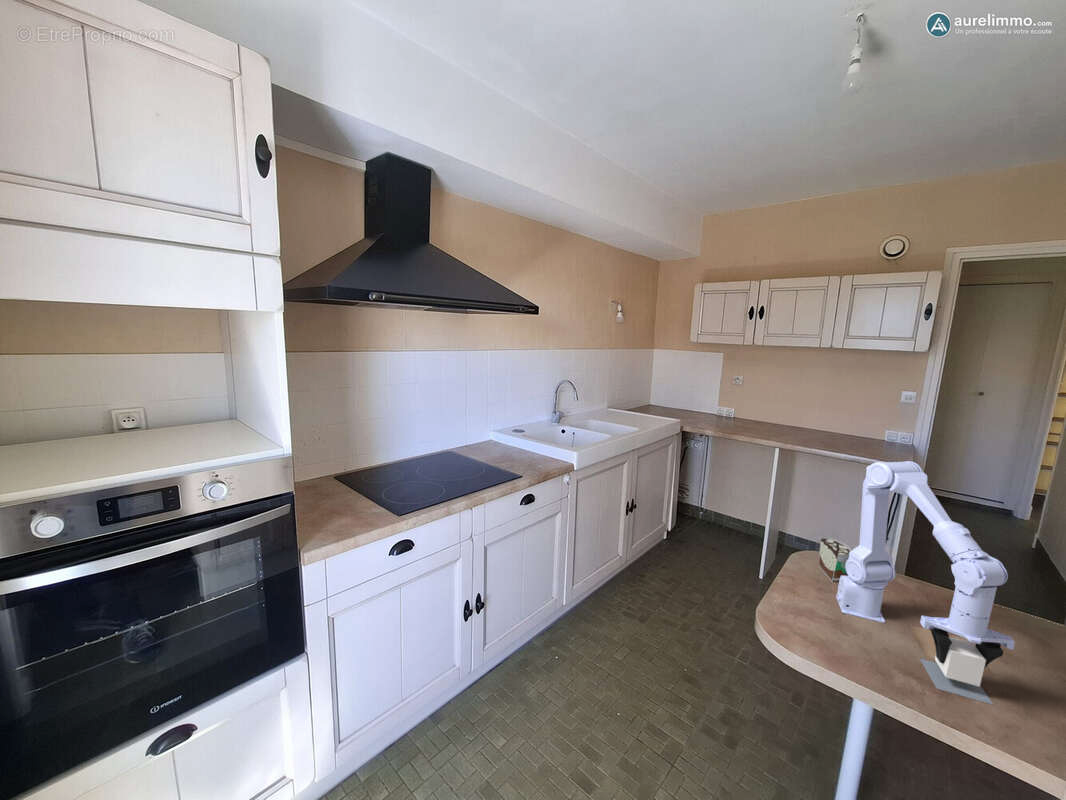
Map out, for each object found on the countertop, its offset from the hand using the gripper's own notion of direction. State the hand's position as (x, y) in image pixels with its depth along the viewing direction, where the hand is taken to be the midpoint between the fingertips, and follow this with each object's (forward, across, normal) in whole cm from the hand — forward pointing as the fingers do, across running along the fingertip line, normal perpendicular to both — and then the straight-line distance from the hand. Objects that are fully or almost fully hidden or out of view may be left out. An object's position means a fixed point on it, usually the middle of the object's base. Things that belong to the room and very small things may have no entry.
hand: (958, 664), depth 92 cm
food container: (+4, -15, +37) cm, 40 cm away
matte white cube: (+2, 0, 0) cm, 2 cm away
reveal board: (+4, +3, +12) cm, 13 cm away
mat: (+4, 0, 0) cm, 4 cm away
